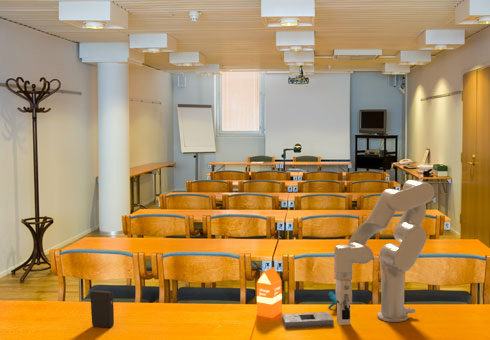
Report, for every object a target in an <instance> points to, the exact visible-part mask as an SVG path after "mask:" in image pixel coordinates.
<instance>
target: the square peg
mask: <svg viewBox="0 0 490 340" xmlns="http://www.w3.org/2000/svg"><path fill="white" fill-rule="evenodd" d="M344 307H345V305H344ZM342 310H343V307H342V304H341V303H337V312H336V322H337V323H338V324H339V326H342V325H343V326H344V325H346V326H347V325H351V318H350V319H347V320H343V319H342Z"/></svg>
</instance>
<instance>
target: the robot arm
mask: <svg viewBox="0 0 490 340" xmlns="http://www.w3.org/2000/svg"><path fill="white" fill-rule="evenodd" d="M434 196H435V188H434V186H433V185H432V184H430V183H428V182H426V181H420V180H416V179H408V180H406V181H405V182H403V186H402V189H401V190H399V189H394V188H387V189H384V191H382V193H381V194H380V195H379V197H378V199H377V201H376V202H375V205H374V207H373V209H372V211H371V212H370V214H369V215H368V217H367V219H366V220H364V221H363V222H362V223H361V224H360V225H359V226H358V227H357V228H356V229H355V230H354V232H353V233H352V235H351V237H350V239H349V240H348V242H347V243H346V244H338V245H335V247H334V252H333V253H334V254H333V256H334V257H333V267H334V268H333V279H334V280H335V294H336V305H335V311H336V313H337V303H341V304H342V307H343V310H342V319H343V320H347V319H350V320H351V305H352V304H353V287H352V280H353V265H354V264H362V265H363V264H368V263H370V262H371V261H372V260H373V257H374V252H373V250H372V249H371V248H370V247H369V246H367V245H366V244H367V243H368V241H369V240H370V238H372V237H373V236H374V235H375V234H377V233H380V232H383V231H384V230H386V229H387V228H388V226H389V224H390V222H391V220H392V219H393V217H394V216H395V213H396V212H403V214H402V215H401V217H400V219H399V221H398V222H397V224H396V226H395V228H394V231H393V237H394V239H395V241H397V242H398V243H400V245H398V244H396V243H390V242H389V243H387V244H384V245H383V246H382V247H381V248H380V250H379V253H378V254H379V255H378V257H379V258H378V259H379V265H380V277H381V278H380V281H381V282H380V296H381V297H380V302H381V303H380V311H378V312H377V318H378V319H380V320H381V321H384V322H389V323H399V322H400V323H401V322H405V321H407V320H408V319H409V317H408V316H409V314H416V308H414V307H413V308H411V306H410V307H408V306H407V307H406V306H405V273H406V272H408V271H410V270H411V269H413V266H414V265H415V263H416V262H417V260H418V258H419V257H420V254H421V252H422V251H423V249H424V247H425V244H426V242H427V233H426V231H425V229H424V227H422V224H423V221H424V220H425V217H426V214H427V203H429V202H430V201H432V200H433V198H434ZM344 305H345V307H344Z"/></svg>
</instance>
